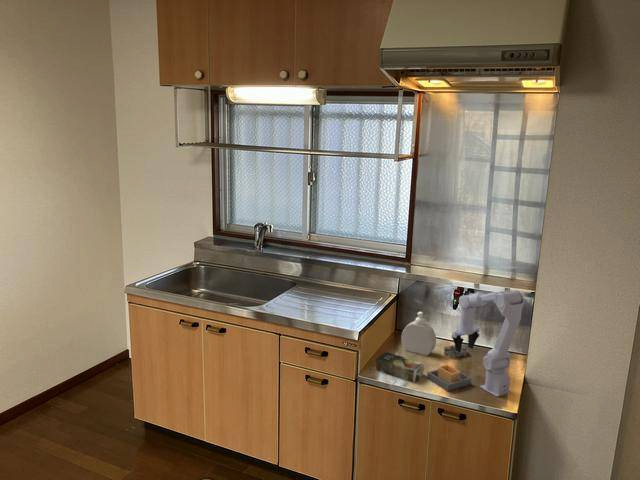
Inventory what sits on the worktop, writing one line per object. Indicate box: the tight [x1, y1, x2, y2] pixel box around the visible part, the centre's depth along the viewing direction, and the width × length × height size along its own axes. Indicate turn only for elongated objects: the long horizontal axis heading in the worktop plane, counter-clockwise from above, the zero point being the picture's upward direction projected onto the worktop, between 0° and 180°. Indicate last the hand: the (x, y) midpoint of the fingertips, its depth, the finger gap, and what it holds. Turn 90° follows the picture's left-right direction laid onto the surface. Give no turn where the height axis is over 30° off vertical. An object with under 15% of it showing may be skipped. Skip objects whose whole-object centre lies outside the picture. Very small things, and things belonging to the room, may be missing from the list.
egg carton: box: [442, 344, 469, 359], centre depth 265 cm, size 11×8×4 cm
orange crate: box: [437, 364, 461, 384], centre depth 238 cm, size 8×5×5 cm, turn 31°
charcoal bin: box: [426, 367, 472, 393], centre depth 238 cm, size 13×13×3 cm
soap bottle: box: [400, 311, 437, 357], centre depth 265 cm, size 16×5×20 cm, turn 58°
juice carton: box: [376, 351, 425, 383], centre depth 245 cm, size 20×10×6 cm, turn 54°
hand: (464, 349), depth 248 cm, fingers open, 7 cm apart
